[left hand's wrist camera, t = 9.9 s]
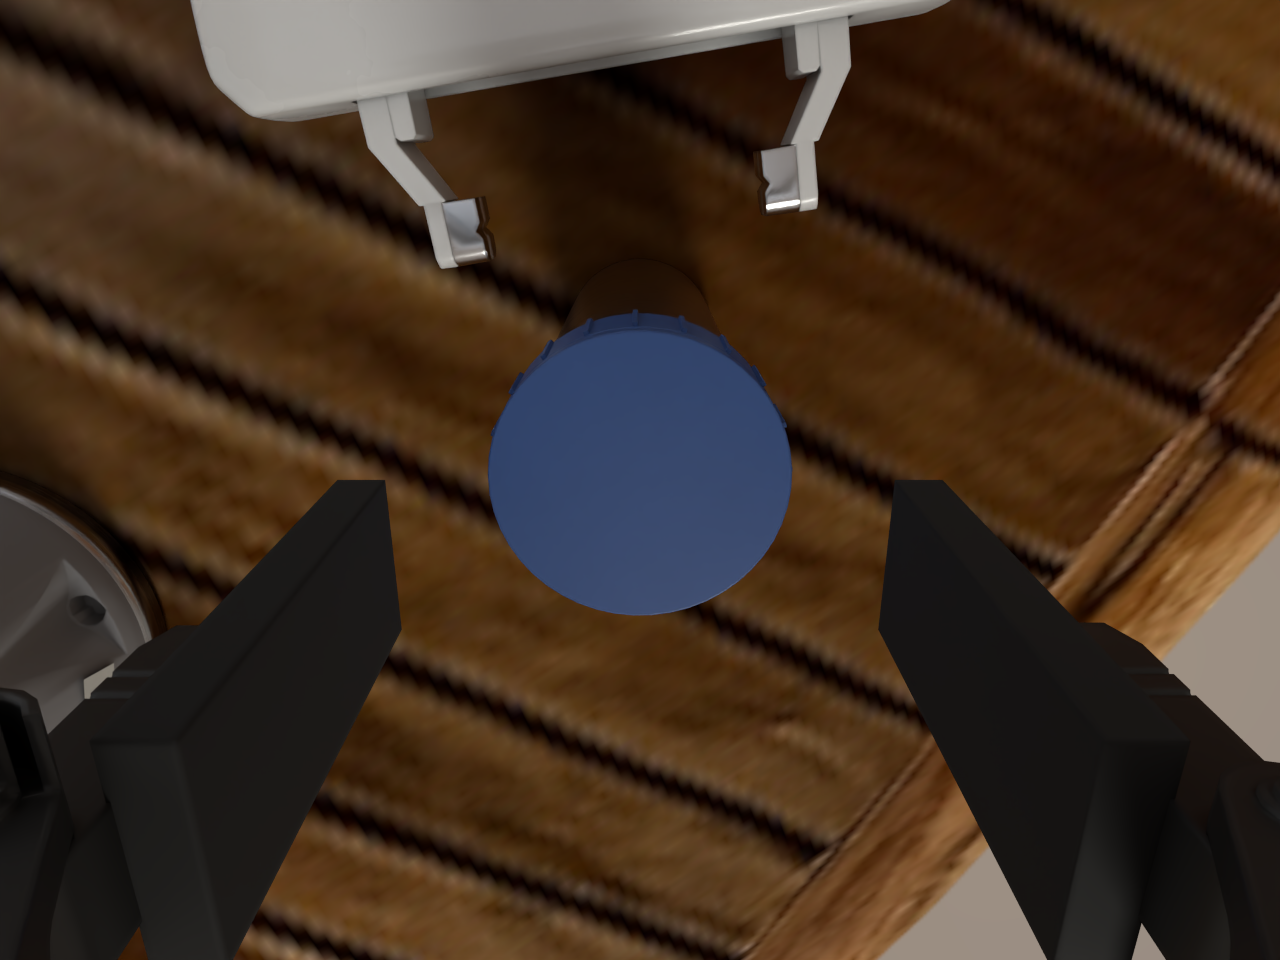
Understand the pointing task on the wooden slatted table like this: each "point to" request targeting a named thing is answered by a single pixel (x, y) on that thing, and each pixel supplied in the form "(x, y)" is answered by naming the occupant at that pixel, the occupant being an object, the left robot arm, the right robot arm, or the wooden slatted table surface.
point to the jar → (639, 295)
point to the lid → (640, 465)
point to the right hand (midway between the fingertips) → (627, 238)
